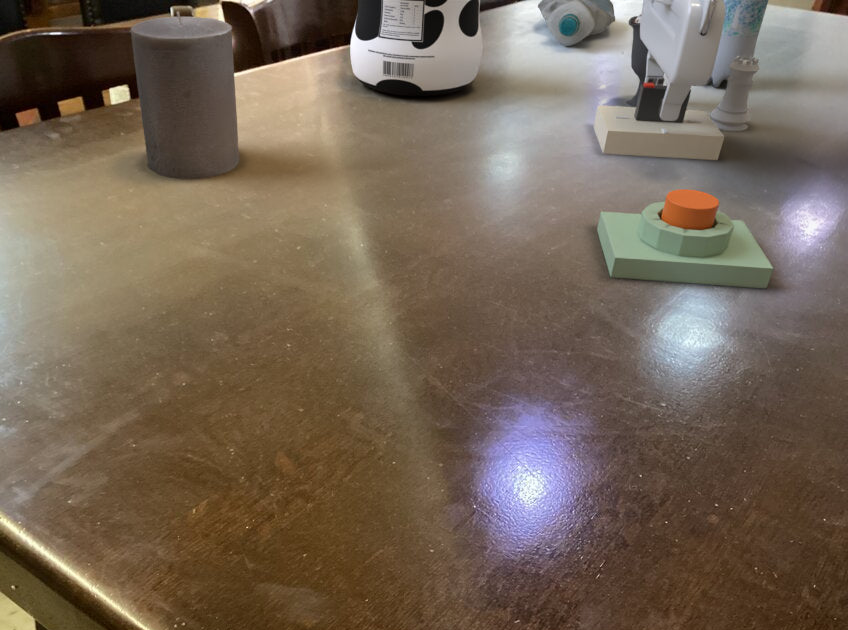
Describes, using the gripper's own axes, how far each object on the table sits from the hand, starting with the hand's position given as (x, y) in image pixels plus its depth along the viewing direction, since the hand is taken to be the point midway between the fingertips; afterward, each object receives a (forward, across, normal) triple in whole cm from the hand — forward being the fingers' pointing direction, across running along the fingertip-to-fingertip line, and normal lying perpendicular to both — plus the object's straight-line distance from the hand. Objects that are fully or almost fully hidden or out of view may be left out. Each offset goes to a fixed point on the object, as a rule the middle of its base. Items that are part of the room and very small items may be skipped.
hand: (659, 105), depth 89 cm
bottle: (+5, +28, -14) cm, 32 cm away
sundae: (+5, +15, -1) cm, 16 cm away
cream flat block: (+5, 0, 0) cm, 5 cm away
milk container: (+5, +19, +28) cm, 34 cm away
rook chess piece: (+5, +8, -10) cm, 14 cm away
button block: (+5, -29, +3) cm, 30 cm away
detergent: (+5, +54, +4) cm, 54 cm away
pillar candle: (+5, -14, +49) cm, 51 cm away
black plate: (+2, 0, 0) cm, 2 cm away
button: (+1, -29, +3) cm, 29 cm away
